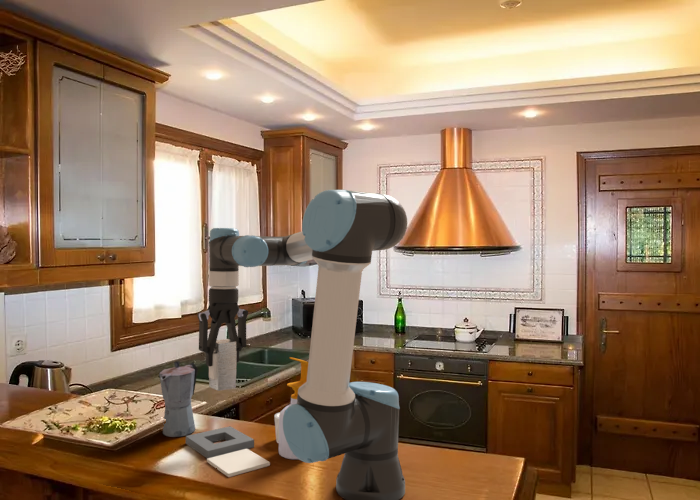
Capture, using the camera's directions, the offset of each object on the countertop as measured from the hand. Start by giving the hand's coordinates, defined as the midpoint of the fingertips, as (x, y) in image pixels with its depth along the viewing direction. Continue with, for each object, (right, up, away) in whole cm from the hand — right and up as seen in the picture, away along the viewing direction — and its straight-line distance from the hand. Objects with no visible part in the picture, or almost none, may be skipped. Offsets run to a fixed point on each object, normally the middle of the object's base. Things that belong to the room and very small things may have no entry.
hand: (222, 376), depth 146 cm
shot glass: (+16, -19, +6) cm, 25 cm away
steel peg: (0, -3, 0) cm, 3 cm away
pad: (+6, -19, -10) cm, 22 cm away
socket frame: (-1, -18, +1) cm, 19 cm away
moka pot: (-15, -18, +11) cm, 26 cm away
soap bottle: (+19, -19, -3) cm, 27 cm away
